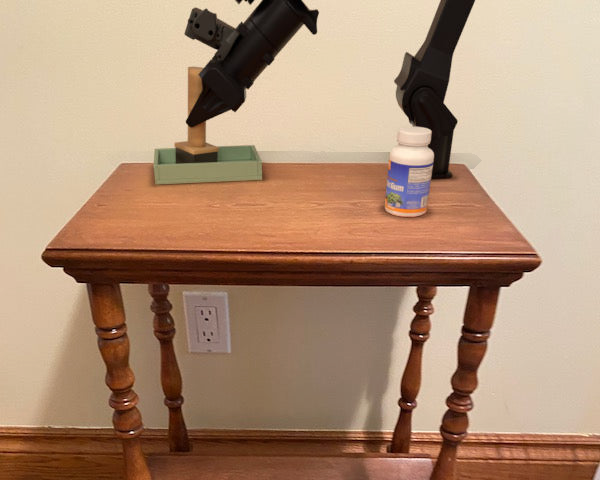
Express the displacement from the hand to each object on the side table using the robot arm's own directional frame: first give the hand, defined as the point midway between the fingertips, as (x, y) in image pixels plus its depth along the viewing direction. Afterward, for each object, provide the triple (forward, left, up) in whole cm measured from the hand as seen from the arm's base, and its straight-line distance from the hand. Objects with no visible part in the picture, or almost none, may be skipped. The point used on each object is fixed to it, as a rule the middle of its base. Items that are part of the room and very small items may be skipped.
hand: (189, 122), depth 89 cm
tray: (-2, 0, -7) cm, 7 cm away
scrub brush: (0, 0, -6) cm, 6 cm away
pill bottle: (-26, +22, -7) cm, 35 cm away
